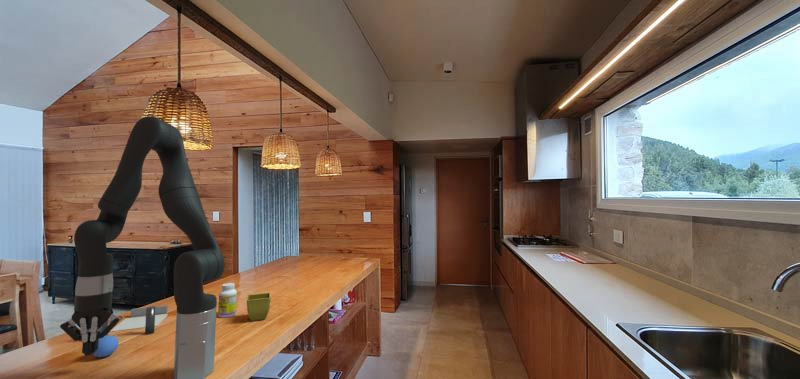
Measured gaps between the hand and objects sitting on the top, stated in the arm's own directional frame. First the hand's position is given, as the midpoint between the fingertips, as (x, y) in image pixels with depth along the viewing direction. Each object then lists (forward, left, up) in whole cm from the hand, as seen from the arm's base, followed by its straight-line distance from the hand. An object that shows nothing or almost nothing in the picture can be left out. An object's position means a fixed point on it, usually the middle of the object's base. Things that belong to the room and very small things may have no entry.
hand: (90, 354), depth 86 cm
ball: (+9, 0, -1) cm, 9 cm away
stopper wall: (+48, 0, -4) cm, 48 cm away
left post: (+25, +6, -4) cm, 26 cm away
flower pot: (+26, -42, -5) cm, 50 cm away
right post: (+25, -7, -4) cm, 26 cm away
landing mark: (+39, 0, -4) cm, 39 cm away
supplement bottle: (+35, -30, -5) cm, 46 cm away
